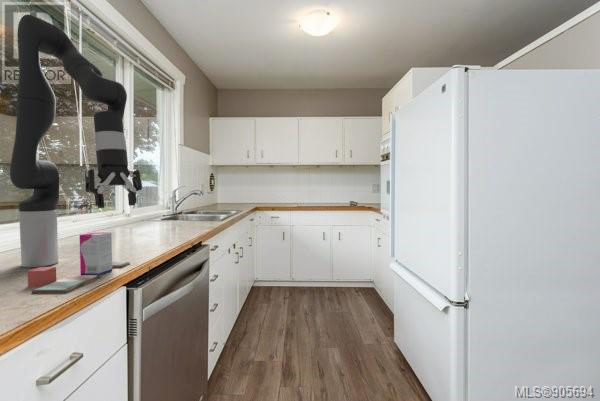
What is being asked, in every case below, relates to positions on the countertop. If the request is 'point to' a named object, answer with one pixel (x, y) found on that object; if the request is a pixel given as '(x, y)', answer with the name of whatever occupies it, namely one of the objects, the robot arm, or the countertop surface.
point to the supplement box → (95, 253)
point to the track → (73, 281)
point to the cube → (41, 276)
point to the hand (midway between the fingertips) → (117, 206)
